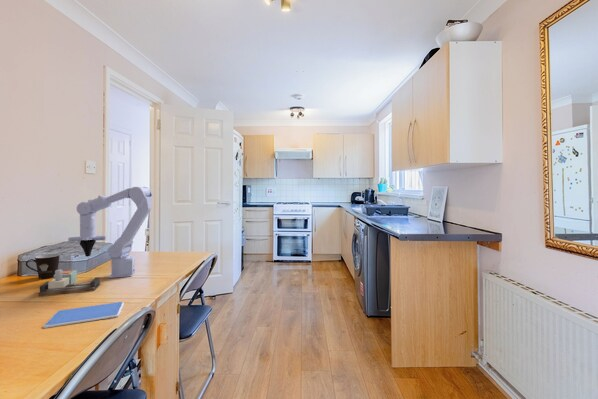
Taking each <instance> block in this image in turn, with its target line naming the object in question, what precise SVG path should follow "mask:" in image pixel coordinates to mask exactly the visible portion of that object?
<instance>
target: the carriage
mask: <svg viewBox="0 0 598 399" xmlns="http://www.w3.org/2000/svg"><path fill="white" fill-rule="evenodd" d="M62 271H63V269H58V270H55V279H54V278H52V279H51V280H50V282H48V289H54V288H64V287H65V286H67V285H68V284H69V278H62Z"/></svg>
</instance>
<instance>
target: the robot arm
mask: <svg viewBox="0 0 598 399" xmlns="http://www.w3.org/2000/svg"><path fill="white" fill-rule="evenodd" d="M124 199H131V200H132V202H133V203H134V205H135V206H136V207H137V209H136V211H135V212H134V213H133V215H132V217H131V219H130V221H129V222H128V224H127V225H126V226H125V228H124V231H123V232H122V234H121V236H119V237H118V238H117V239H116V240H115V242H114V243H113V244H112V245H110V246H109V247H108V249H107V253H108V256H109V257H110V259H111V260H110V262H111V264H110V266H111V267H110V268H111V269H110V270H111V272H110V273H111V274H110V275H109V276H108V279H114V278H125V277H133V275H134V274H135V273H136V268H135V267H136V265H135V264H136V263H135V259H136V258H135V256H134V255H133V256H132V255H130V252H131V251H132V248H133V247H132V246H133V244H134V241H133V240H134V238H135V236H136V235H137V233H138V232H139V230H140V228H141V227H142V226H143V223H144V222H145V220H146V218H147V217H148V215H149V213H150V211H151V210H152V199H153V193H152V191H151V189H150V188H149V187H146V186H133V187H130V188H125V189H124V190H121V191H119V192H116V193H114V194H112V195H111V194H110V195H109V196H107V195H102V194H101V195H97V198H96V197H95V198H94V199H88V200H87V202H86V201H83V202H80V203H78V204H77V206H76V212H77V213H78V214H79V236H69V237H67V238H68V239H67V243H72V242H79V245H80V247H81V248H82V250H83V253H84V255H85V257H87V258H88V257H90V256H91V254H92V249H93V248H94V245H95V243H96V242H97V241H107V235H96V213H97V212H99V211H103V210H104V209H106V208H109V207H111V205H112V203H116V202H118V201H121V200H124Z"/></svg>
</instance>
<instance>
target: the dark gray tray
mask: <svg viewBox="0 0 598 399" xmlns="http://www.w3.org/2000/svg"><path fill="white" fill-rule="evenodd" d="M50 281H51V280H50ZM50 281H46V282H44V283H42V284H41V285H39V292H38V293H37V294H38V297H44V296H54V295H65V294H76V293H87V292H95V291H96V290H97V288H98V287H100V285H101V281H100V277H98V276H97V277H96V276H95V277H94V278H93V279H92V280H91V281H90V282H82V283H74V284H69V285H67V286H65V287H64V288H54V289H48V282H50Z"/></svg>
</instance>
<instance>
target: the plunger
mask: <svg viewBox="0 0 598 399" xmlns="http://www.w3.org/2000/svg"><path fill="white" fill-rule="evenodd" d="M72 271H73V270H62V274H69V273H71V272H72Z"/></svg>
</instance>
